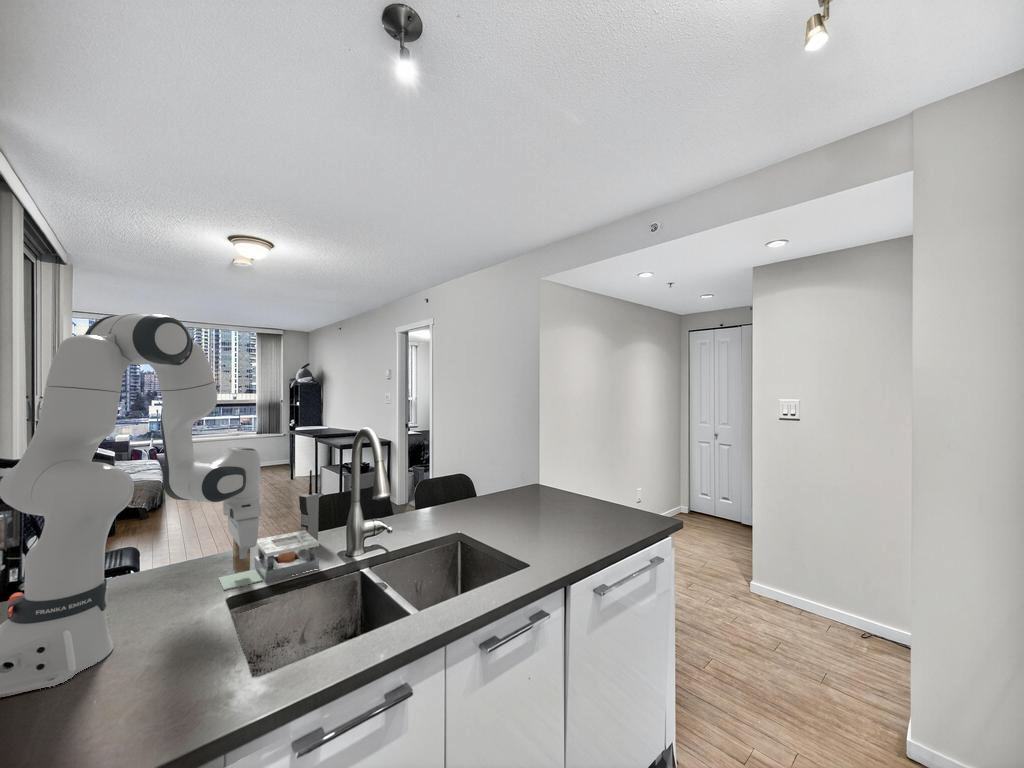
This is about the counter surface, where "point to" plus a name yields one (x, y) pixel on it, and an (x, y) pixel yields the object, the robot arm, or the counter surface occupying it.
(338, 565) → the counter surface
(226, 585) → the sage mat
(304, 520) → the vintage mobile phone
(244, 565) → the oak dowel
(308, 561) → the grey box with top
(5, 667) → the robot arm
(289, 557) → the breaker button
